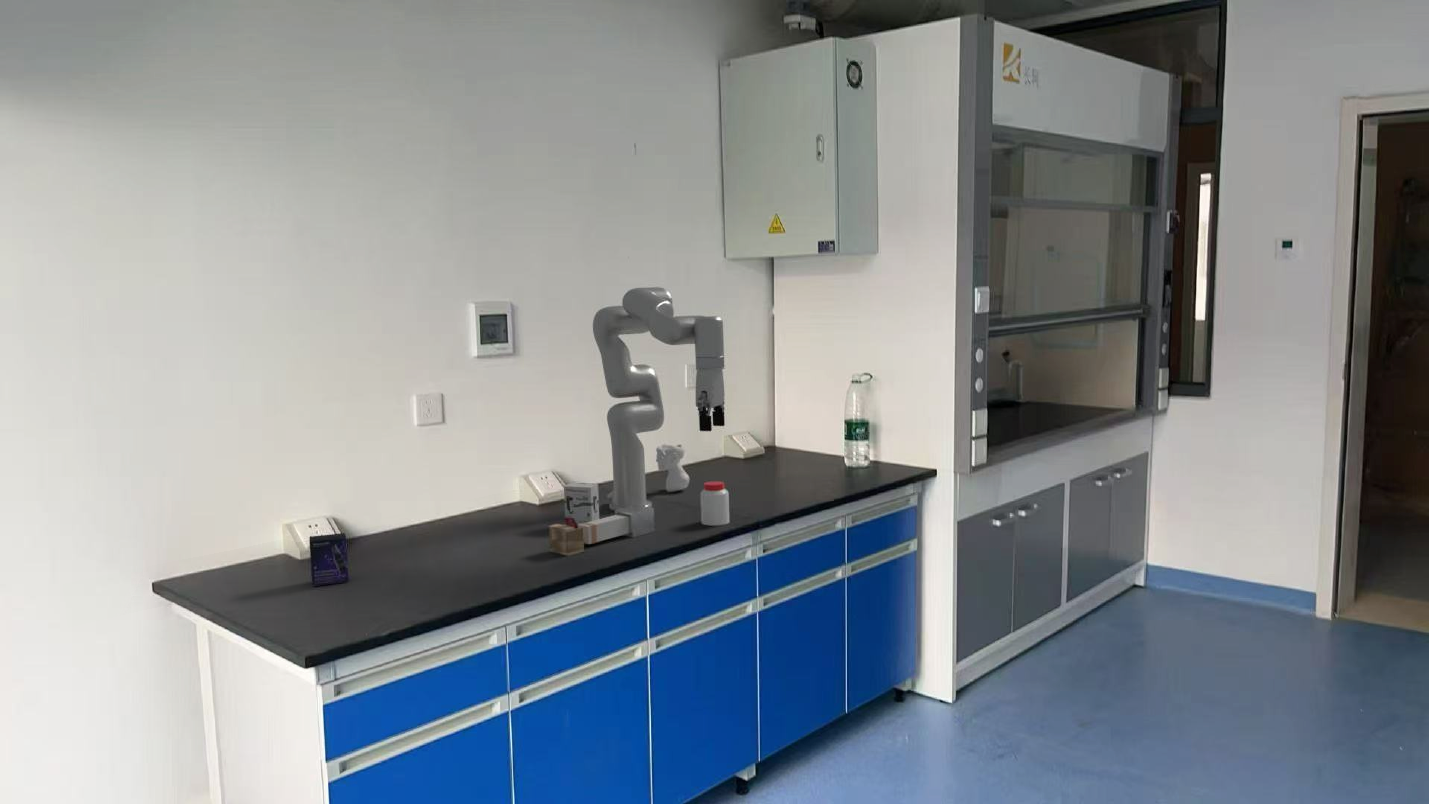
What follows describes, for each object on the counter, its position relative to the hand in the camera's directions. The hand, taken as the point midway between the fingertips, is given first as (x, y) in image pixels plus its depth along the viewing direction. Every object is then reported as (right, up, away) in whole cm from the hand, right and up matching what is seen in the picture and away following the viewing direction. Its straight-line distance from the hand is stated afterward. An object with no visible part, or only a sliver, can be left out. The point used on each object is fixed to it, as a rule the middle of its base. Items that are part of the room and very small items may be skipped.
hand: (712, 428), depth 265 cm
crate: (-36, -30, -14) cm, 49 cm away
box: (-88, -35, -33) cm, 100 cm away
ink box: (-36, -28, +13) cm, 47 cm away
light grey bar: (-25, -29, -1) cm, 38 cm away
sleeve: (-21, -28, +4) cm, 35 cm away
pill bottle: (+1, -27, +13) cm, 29 cm away
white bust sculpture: (-13, -22, +57) cm, 62 cm away
